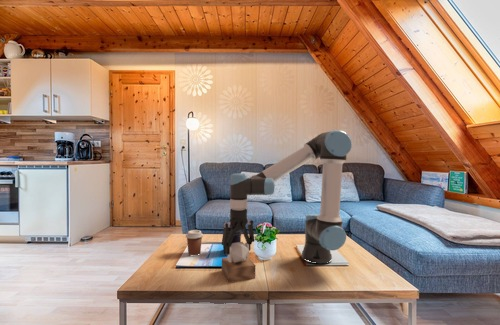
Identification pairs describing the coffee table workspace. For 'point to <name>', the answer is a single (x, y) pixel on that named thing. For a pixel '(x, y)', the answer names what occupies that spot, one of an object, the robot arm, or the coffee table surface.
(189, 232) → the coffee cup
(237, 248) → the die
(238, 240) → the storage jar
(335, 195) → the robot arm
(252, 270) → the walnut block
